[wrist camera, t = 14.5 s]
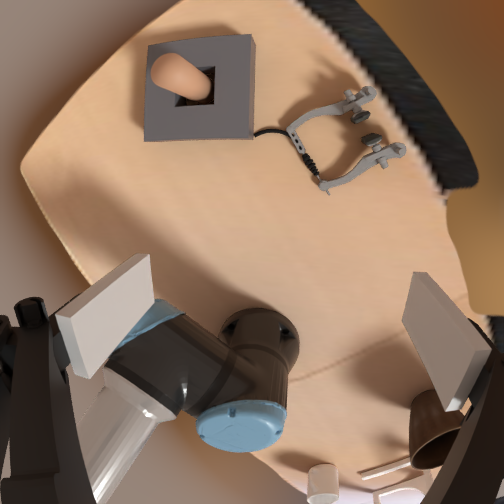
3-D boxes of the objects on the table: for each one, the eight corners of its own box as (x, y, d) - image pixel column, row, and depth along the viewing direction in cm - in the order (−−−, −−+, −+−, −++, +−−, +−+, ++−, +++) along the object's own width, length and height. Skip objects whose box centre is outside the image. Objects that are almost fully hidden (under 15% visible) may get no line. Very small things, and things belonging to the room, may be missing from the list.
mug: (323, 455, 66) (324, 486, 56) (342, 470, 69) (344, 499, 59) (296, 463, 69) (294, 494, 59) (317, 478, 71) (316, 507, 61)
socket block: (253, 139, 45) (248, 138, 40) (157, 141, 47) (144, 141, 42) (255, 44, 40) (251, 34, 35) (161, 53, 42) (148, 45, 37)
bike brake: (368, 79, 39) (257, 133, 47) (373, 71, 33) (245, 135, 41) (407, 157, 42) (297, 206, 50) (417, 162, 36) (291, 218, 44)
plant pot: (411, 376, 55) (432, 430, 40) (463, 376, 54) (488, 423, 39) (387, 421, 60) (398, 472, 45) (436, 419, 59) (452, 465, 44)
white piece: (373, 493, 73) (377, 539, 54) (361, 472, 69) (365, 527, 50) (428, 474, 68) (439, 520, 49) (424, 450, 63) (438, 503, 45)
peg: (217, 103, 44) (184, 85, 30) (190, 104, 44) (149, 89, 30) (218, 77, 43) (186, 50, 28) (191, 79, 43) (151, 56, 29)
